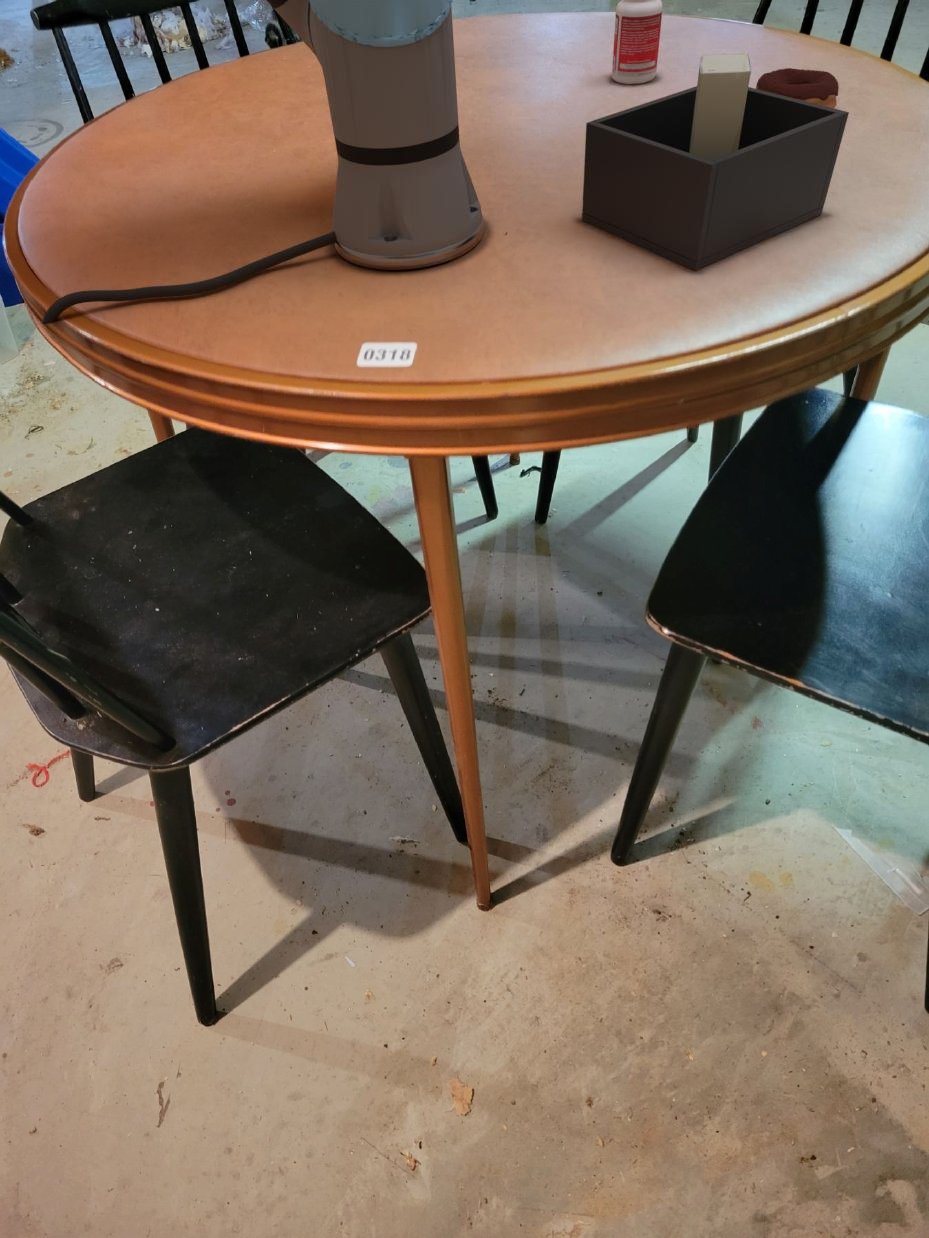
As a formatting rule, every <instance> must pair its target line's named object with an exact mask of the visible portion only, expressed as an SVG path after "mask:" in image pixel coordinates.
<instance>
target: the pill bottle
mask: <svg viewBox="0 0 929 1238" xmlns="http://www.w3.org/2000/svg"><path fill="white" fill-rule="evenodd" d="M663 9H664V7H663V2H662V0H620V1H619V2H618V4H617V5H616V8H615V19H614V20H615V21H614V34H613V36H614V37H613V50H612V68H611V77H612V79H613V80H614V81H615V82H617V83H620V84H625V85H635V84H643V83H646V82H650V81H652V80H653V79H654V78H655V77H656V75H657V69H658V60H659V59H658V58H659V49H660V41H661V29H662V19H663Z"/></svg>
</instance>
